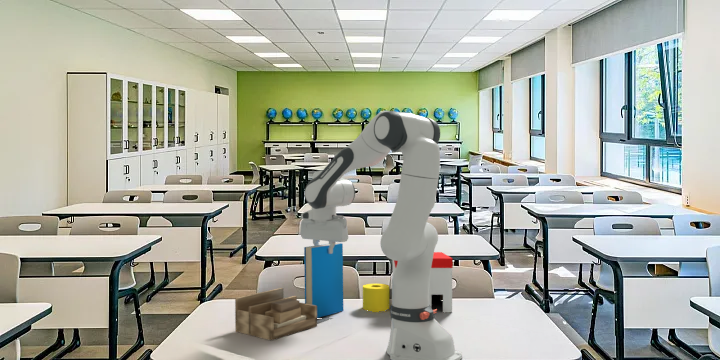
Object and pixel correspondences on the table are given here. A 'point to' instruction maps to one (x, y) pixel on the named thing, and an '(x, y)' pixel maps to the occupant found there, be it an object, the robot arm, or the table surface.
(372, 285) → the tape roll
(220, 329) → the table surface
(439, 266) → the red-lidded white box
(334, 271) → the book
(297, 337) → the table surface
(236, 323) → the rack
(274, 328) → the offcut large
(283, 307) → the offcut small
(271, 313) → the offcut medium
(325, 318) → the mat
